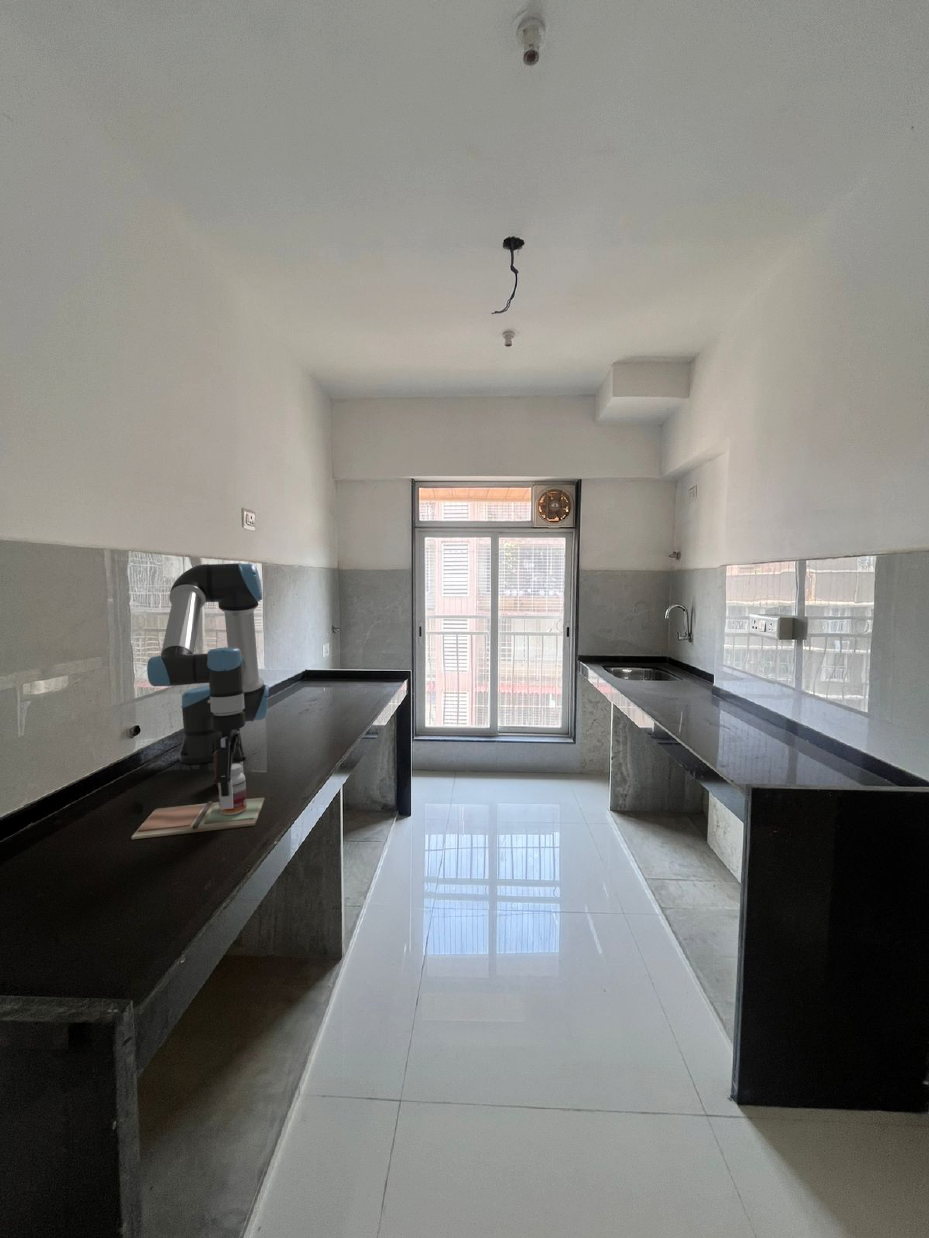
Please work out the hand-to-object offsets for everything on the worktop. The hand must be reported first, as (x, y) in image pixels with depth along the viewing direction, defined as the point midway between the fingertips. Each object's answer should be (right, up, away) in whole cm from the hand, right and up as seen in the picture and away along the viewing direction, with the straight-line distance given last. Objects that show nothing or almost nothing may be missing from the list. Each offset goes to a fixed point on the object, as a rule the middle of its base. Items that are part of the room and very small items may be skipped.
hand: (232, 797), depth 136 cm
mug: (-10, -3, +21) cm, 23 cm away
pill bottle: (0, -4, 0) cm, 4 cm away
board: (-7, -5, -1) cm, 8 cm away
